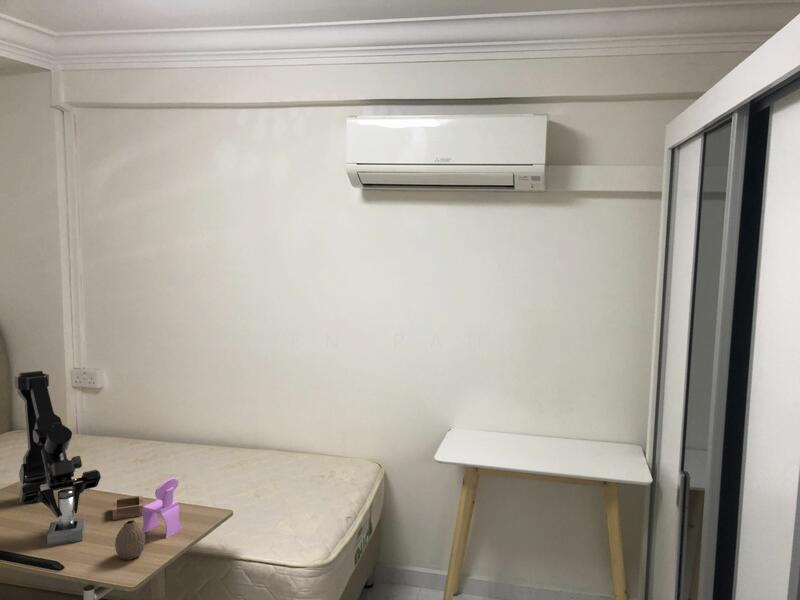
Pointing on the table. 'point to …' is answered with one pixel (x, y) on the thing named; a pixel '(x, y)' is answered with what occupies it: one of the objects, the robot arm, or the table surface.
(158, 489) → the toy chair
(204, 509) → the table surface
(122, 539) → the vase
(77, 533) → the socket block
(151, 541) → the table surface
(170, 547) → the table surface
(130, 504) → the block
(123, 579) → the table surface
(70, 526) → the silver and grey cylinder
